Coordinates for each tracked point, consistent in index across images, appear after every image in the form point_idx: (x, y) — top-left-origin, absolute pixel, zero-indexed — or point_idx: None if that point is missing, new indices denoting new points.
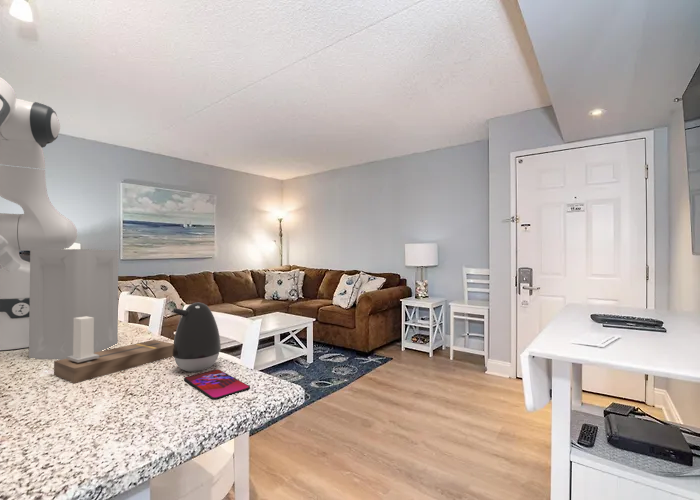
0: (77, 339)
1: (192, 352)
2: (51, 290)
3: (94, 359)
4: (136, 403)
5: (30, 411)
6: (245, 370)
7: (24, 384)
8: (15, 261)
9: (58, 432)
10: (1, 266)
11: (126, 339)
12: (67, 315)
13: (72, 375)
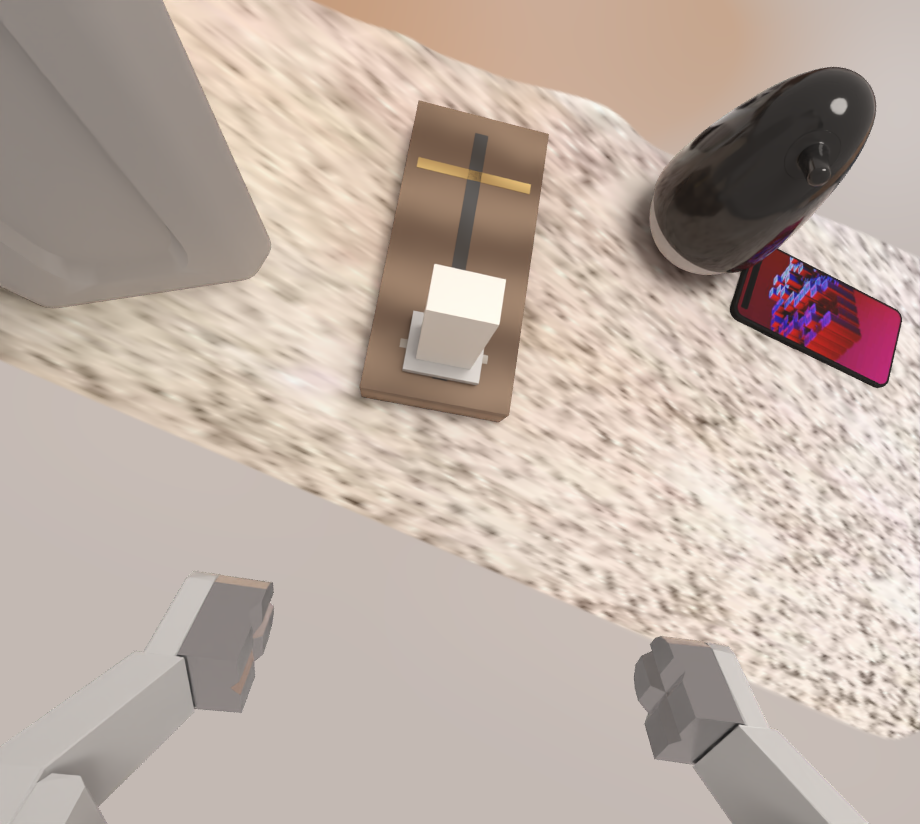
0: (453, 346)
1: (768, 255)
2: None
3: None
4: (762, 455)
5: (600, 571)
6: None
7: (371, 475)
8: (750, 695)
9: (761, 604)
10: (666, 756)
11: None
12: (149, 183)
13: (491, 416)
